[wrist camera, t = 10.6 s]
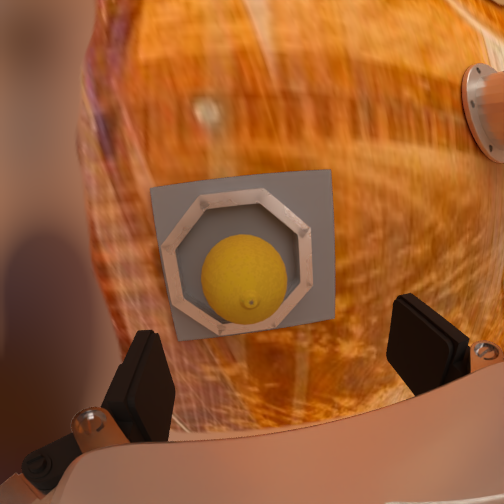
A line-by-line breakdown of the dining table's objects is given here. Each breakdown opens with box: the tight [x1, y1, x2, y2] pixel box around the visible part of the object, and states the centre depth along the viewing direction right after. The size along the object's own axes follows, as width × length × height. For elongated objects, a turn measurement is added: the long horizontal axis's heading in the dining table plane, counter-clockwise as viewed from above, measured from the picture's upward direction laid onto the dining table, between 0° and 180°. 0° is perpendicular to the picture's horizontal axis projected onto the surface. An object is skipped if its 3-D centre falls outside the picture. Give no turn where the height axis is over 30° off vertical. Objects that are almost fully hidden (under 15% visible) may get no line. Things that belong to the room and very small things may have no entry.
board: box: [150, 170, 335, 341], centre depth 24 cm, size 14×13×1 cm
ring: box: [161, 187, 313, 336], centre depth 22 cm, size 11×11×2 cm
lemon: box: [201, 234, 287, 325], centre depth 19 cm, size 6×6×8 cm
